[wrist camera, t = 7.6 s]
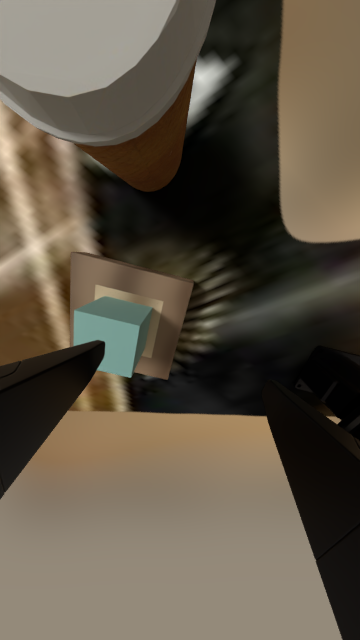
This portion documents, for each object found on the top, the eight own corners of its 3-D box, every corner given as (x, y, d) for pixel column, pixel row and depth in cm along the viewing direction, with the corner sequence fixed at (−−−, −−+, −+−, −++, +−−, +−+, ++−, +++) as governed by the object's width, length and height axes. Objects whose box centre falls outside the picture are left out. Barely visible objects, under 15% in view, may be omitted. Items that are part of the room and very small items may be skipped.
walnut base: (193, 280, 19) (193, 283, 16) (169, 367, 23) (167, 379, 21) (85, 252, 18) (71, 251, 16) (82, 346, 22) (69, 357, 20)
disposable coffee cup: (149, 233, 17) (78, 191, 6) (72, 148, 15) (-257, -163, 4) (223, 150, 15) (335, -188, 4) (143, 32, 13) (-219, -1802, 1)
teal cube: (152, 307, 17) (139, 325, 13) (144, 348, 19) (130, 377, 15) (105, 295, 17) (74, 310, 13) (101, 338, 19) (73, 364, 14)
